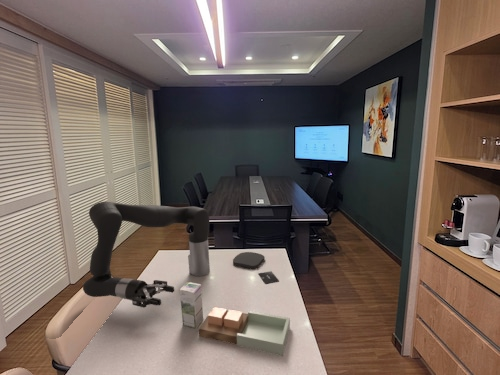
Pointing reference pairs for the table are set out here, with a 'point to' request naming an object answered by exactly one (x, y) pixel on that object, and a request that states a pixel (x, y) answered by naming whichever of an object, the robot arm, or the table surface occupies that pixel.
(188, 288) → the syrup box
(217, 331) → the board
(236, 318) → the tile
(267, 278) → the solid state drive
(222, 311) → the tile
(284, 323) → the tray
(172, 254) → the table surface
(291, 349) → the table surface
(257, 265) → the media streaming box
